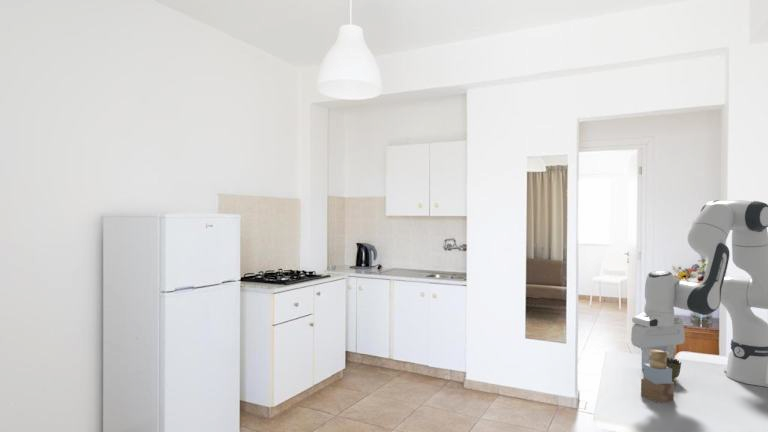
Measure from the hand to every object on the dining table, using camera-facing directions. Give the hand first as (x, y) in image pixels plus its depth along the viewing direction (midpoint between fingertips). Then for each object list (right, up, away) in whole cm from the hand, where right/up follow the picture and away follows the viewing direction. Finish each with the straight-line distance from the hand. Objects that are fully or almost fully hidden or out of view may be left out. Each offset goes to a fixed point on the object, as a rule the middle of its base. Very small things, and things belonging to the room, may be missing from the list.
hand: (658, 358), depth 160 cm
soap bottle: (+15, -14, +26) cm, 33 cm away
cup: (+14, -14, +16) cm, 25 cm away
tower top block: (0, -8, 0) cm, 8 cm away
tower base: (0, -14, 0) cm, 14 cm away
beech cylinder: (0, -3, 0) cm, 3 cm away
